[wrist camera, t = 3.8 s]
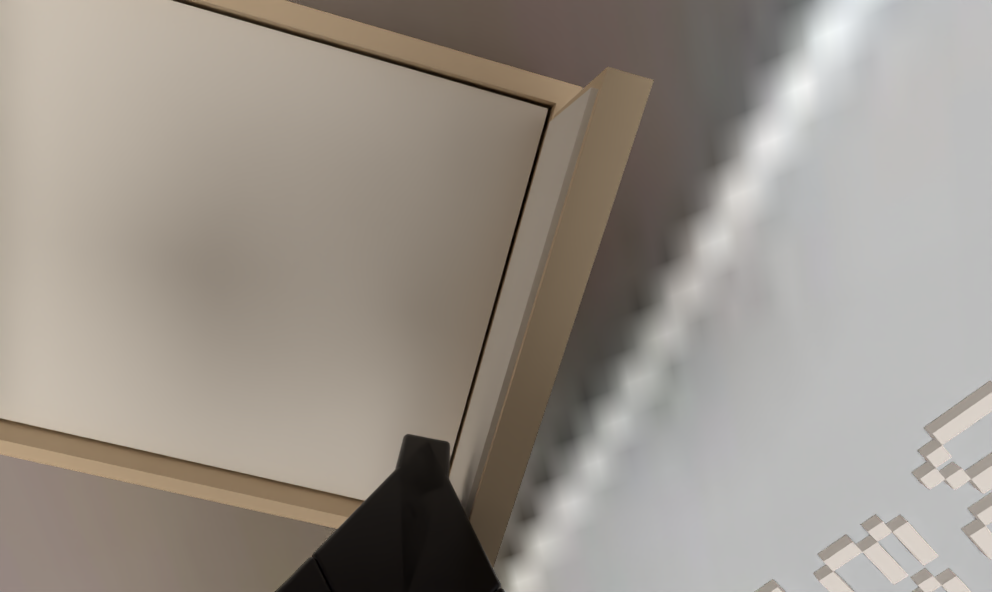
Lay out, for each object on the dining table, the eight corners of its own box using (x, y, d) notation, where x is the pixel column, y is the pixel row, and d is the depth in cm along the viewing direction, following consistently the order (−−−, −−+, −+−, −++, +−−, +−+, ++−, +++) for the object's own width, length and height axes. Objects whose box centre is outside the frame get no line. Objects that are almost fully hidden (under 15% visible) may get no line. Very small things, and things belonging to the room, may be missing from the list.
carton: (459, 445, 22) (445, 552, 16) (24, 341, 20) (-164, 418, 15) (556, 104, 18) (584, 82, 12) (27, -49, 17) (-223, -154, 11)
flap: (431, 540, 15) (450, 544, 15) (369, 835, 9) (402, 842, 9) (551, 113, 12) (575, 120, 12) (600, 64, 5) (653, 79, 5)
